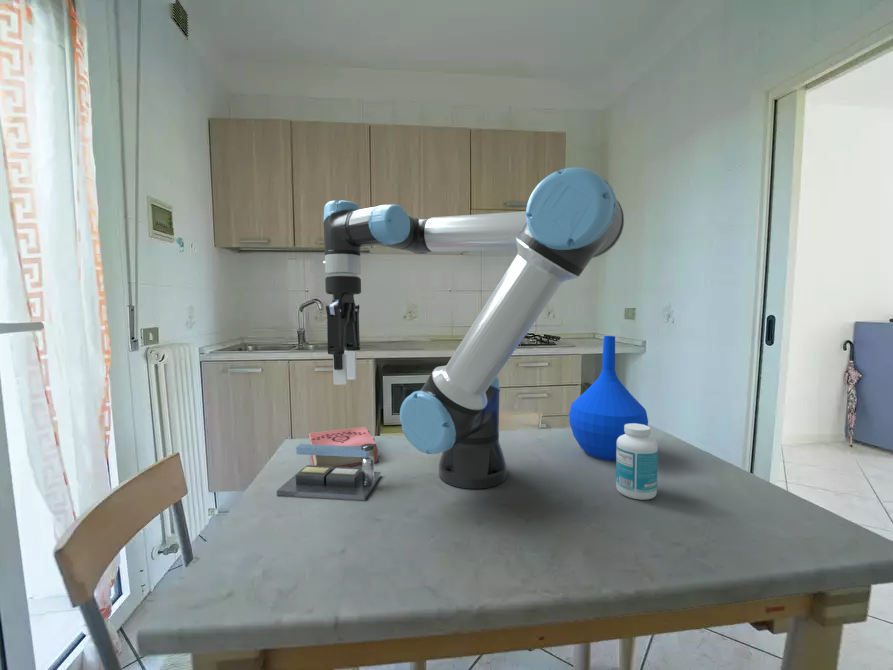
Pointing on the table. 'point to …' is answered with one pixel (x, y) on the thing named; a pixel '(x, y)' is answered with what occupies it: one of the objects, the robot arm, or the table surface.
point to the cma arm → (335, 450)
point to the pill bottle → (636, 463)
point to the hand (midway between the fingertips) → (345, 381)
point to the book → (342, 439)
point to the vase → (604, 410)
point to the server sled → (333, 482)
